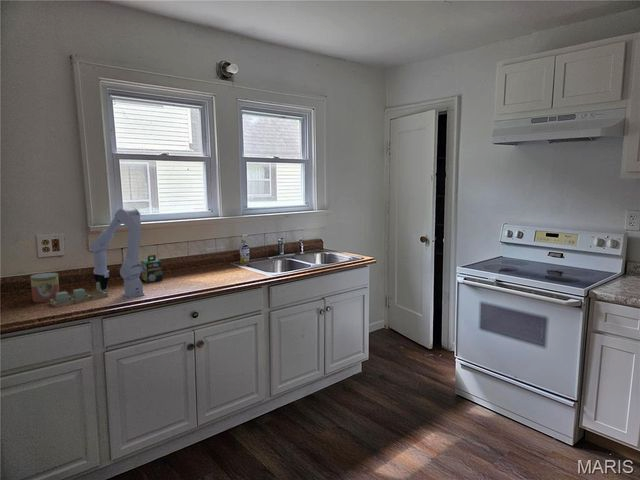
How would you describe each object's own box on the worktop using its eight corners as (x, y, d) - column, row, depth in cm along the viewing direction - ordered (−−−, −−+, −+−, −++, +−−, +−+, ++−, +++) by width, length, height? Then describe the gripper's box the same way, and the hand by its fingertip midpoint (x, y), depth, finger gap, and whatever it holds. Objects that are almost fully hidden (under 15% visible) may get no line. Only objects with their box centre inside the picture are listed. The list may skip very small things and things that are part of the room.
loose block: (107, 291, 216) (107, 282, 216) (99, 292, 213) (99, 283, 213) (104, 289, 219) (104, 280, 218) (96, 291, 216) (96, 282, 215)
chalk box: (157, 277, 248) (156, 253, 246) (163, 280, 242) (162, 255, 239) (141, 279, 242) (140, 254, 240) (147, 282, 235) (145, 257, 233)
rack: (107, 297, 206) (107, 293, 205) (56, 307, 189) (55, 302, 188) (100, 294, 211) (100, 290, 211) (50, 303, 194) (49, 299, 194)
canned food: (32, 304, 194) (30, 279, 192) (32, 298, 203) (29, 274, 201) (61, 300, 200) (59, 276, 198) (59, 294, 209) (57, 271, 207)
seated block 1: (69, 303, 195) (68, 292, 194) (59, 305, 192) (58, 294, 191) (66, 301, 197) (65, 291, 196) (56, 303, 194) (55, 293, 193)
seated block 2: (85, 299, 200) (85, 289, 199) (76, 301, 197) (75, 291, 196) (82, 298, 203) (81, 288, 202) (73, 299, 200) (72, 289, 199)
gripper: (114, 264, 212) (116, 289, 214) (102, 260, 222) (104, 284, 224) (100, 266, 207) (101, 292, 209) (88, 262, 216) (90, 287, 218)
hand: (102, 288), depth 216 cm, fingers closed on loose block, 4 cm apart
